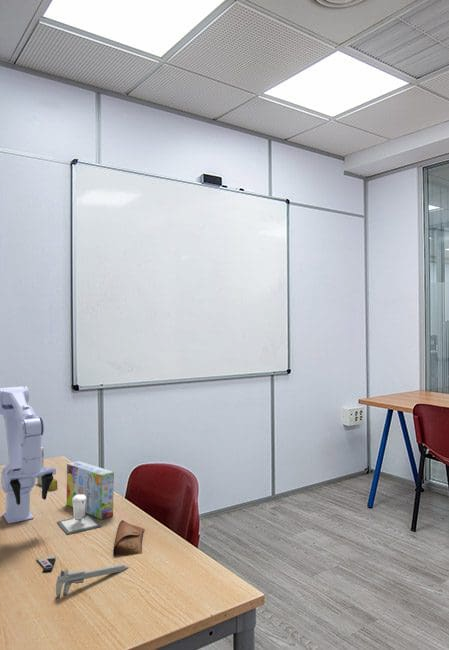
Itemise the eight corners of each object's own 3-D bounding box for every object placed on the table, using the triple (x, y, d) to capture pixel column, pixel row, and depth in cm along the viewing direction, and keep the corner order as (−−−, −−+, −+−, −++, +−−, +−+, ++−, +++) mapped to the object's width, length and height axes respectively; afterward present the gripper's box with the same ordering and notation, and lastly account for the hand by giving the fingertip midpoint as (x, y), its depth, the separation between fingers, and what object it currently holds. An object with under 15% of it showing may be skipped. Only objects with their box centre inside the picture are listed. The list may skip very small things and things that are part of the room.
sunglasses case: (143, 554, 143) (131, 534, 142) (122, 568, 142) (109, 548, 141) (145, 528, 161) (134, 510, 160) (125, 540, 160) (114, 522, 159)
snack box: (114, 515, 171) (114, 471, 171) (101, 520, 167) (101, 475, 167) (78, 500, 185) (78, 459, 185) (65, 505, 180) (65, 463, 180)
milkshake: (84, 527, 160) (84, 495, 160) (69, 525, 162) (69, 494, 161) (91, 521, 164) (91, 491, 164) (77, 519, 166) (77, 489, 166)
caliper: (58, 599, 120) (58, 573, 120) (55, 597, 121) (55, 571, 121) (128, 569, 135) (128, 545, 135) (126, 567, 136) (126, 544, 136)
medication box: (37, 484, 203) (36, 474, 203) (43, 482, 205) (43, 473, 205) (51, 491, 195) (51, 481, 195) (58, 489, 197) (57, 479, 197)
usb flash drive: (51, 573, 133) (51, 569, 133) (30, 575, 132) (30, 571, 132) (56, 558, 141) (56, 554, 141) (37, 559, 140) (37, 556, 140)
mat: (56, 522, 164) (56, 521, 164) (89, 515, 171) (89, 514, 171) (66, 534, 155) (66, 533, 155) (101, 526, 161) (101, 525, 161)
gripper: (9, 464, 148) (9, 510, 148) (58, 456, 156) (58, 500, 156) (3, 458, 154) (4, 502, 154) (52, 451, 162) (52, 493, 162)
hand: (31, 501), depth 155 cm, fingers open, 7 cm apart
